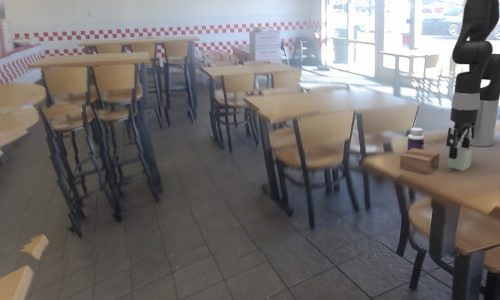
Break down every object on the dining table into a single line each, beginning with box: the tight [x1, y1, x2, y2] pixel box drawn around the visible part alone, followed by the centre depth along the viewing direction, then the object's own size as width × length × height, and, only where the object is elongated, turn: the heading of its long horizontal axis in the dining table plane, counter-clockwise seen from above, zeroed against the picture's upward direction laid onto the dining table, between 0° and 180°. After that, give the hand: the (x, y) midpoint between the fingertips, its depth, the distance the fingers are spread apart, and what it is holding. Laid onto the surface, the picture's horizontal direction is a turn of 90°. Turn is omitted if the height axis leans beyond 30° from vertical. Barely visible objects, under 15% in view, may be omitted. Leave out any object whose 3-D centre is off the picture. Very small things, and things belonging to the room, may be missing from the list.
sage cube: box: [447, 145, 473, 172], centre depth 132 cm, size 5×5×6 cm
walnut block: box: [399, 148, 441, 176], centre depth 134 cm, size 9×9×5 cm
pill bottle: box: [406, 127, 425, 152], centre depth 144 cm, size 5×5×10 cm
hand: (458, 155), depth 132 cm, fingers open, 8 cm apart
